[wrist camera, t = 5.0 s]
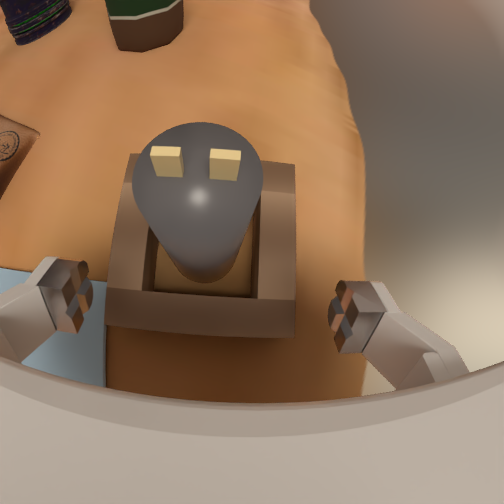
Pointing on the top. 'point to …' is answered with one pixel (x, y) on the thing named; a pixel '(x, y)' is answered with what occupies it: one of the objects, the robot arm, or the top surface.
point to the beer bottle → (144, 23)
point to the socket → (208, 307)
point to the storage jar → (34, 17)
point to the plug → (199, 195)
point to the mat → (70, 339)
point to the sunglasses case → (13, 148)
